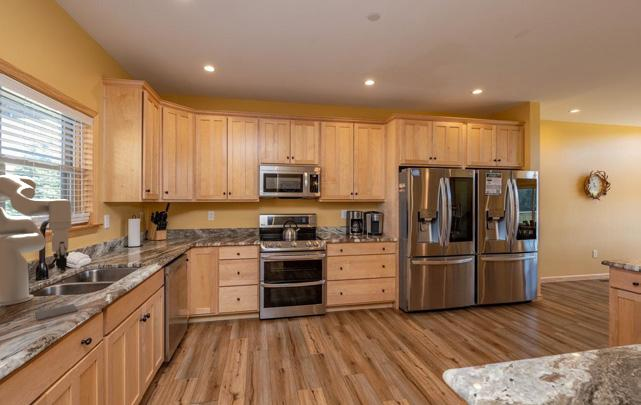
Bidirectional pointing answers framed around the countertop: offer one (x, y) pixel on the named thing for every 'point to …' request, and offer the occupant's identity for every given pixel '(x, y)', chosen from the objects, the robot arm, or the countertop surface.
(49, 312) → the charcoal mat
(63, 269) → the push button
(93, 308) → the countertop surface
